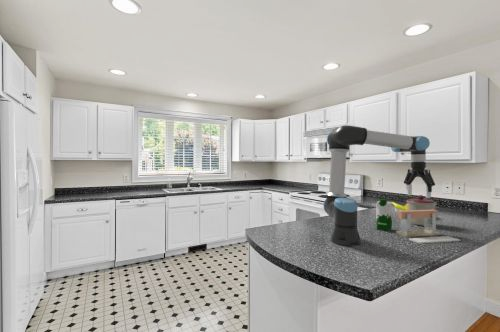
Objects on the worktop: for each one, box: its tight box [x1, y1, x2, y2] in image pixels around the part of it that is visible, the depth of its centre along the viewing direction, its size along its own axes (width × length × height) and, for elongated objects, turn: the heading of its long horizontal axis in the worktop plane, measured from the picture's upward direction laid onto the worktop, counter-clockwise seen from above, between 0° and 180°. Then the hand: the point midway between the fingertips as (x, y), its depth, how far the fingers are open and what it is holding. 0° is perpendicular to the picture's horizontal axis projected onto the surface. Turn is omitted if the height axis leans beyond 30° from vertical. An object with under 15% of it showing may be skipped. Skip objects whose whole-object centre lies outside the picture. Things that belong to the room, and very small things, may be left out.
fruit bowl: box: [391, 201, 408, 214], centre depth 213 cm, size 28×27×11 cm
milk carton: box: [375, 198, 393, 232], centre depth 166 cm, size 9×9×20 cm
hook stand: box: [395, 213, 441, 238], centre depth 155 cm, size 24×8×13 cm, turn 102°
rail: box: [397, 209, 439, 220], centre depth 155 cm, size 26×3×4 cm, turn 102°
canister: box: [405, 194, 437, 227], centre depth 182 cm, size 18×18×21 cm
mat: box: [408, 235, 461, 245], centre depth 142 cm, size 27×7×1 cm, turn 102°
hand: (418, 196), depth 154 cm, fingers open, 13 cm apart
